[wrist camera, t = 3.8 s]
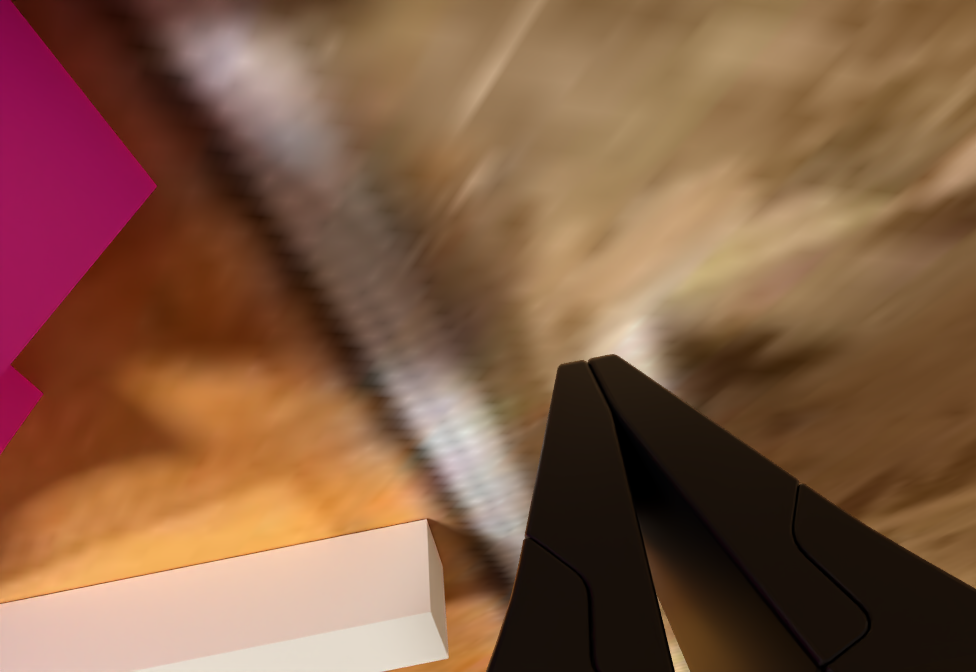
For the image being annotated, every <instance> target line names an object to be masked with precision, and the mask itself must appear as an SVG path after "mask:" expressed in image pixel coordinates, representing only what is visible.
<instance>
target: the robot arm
mask: <svg viewBox="0 0 976 672" xmlns="http://www.w3.org/2000/svg"><path fill="white" fill-rule="evenodd" d="M656 593H657V595H656ZM657 596H658V598H659V600H660V603H661V605H662V607H663V610H664V612H665V614H666V616H667V619H668V621H669V623H670V626H671V628H672V630H673V633H674V635H675V637H676V640H677V642H678V644H679V647H680V649H681V651H682V653H683V656H684V658H685V660H686V663H687V665H688V667H689V670H690V672H976V589H975V588H973V587H972V586H970V585H968V584H966V583H965V582H963V581H961V580H959V579H957V578H956V577H954V576H952V575H950V574H949V573H947V572H945V571H943V570H942V569H940V568H938V567H936V566H935V565H933V564H931V563H929V562H928V561H926V560H924V559H922V558H921V557H919V556H917V555H915V554H914V553H912V552H910V551H909V550H907V549H905V548H904V547H902V546H900V545H898V544H897V543H895V542H893V541H892V540H890V539H888V538H887V537H885V536H883V535H882V534H880V533H878V532H877V531H875V530H873V529H872V528H870V527H868V526H867V525H865V524H864V523H862V522H861V521H859V520H858V519H856V518H854V517H853V516H851V515H850V514H848V513H847V512H845V511H844V510H842V509H841V508H839V507H838V506H836V505H835V504H833V503H832V502H830V501H829V500H827V499H826V498H824V497H823V496H821V495H820V494H818V493H817V492H815V491H814V490H813V489H811V488H810V487H808V486H807V485H805V484H800V485H799V481H798V480H797V479H796V478H795V477H793V476H792V475H790V474H789V473H787V472H786V471H785V470H783V469H782V468H780V467H779V466H777V465H776V464H774V463H773V462H772V461H770V460H769V459H767V458H766V457H764V456H763V455H761V454H760V453H758V452H757V451H756V450H754V449H753V448H751V447H750V446H748V445H747V444H745V443H744V442H742V441H741V440H740V439H738V438H737V437H735V436H734V435H732V434H731V433H729V432H728V431H727V430H725V429H724V428H722V427H721V426H719V425H718V424H716V423H715V422H713V421H712V420H711V419H709V418H708V417H706V416H705V415H703V414H702V413H700V412H699V411H697V410H696V409H695V408H693V407H692V406H690V405H689V404H687V403H686V402H684V401H683V400H682V399H680V398H679V397H677V396H676V395H674V394H673V393H671V392H670V391H668V390H667V389H666V388H664V387H663V386H661V385H660V384H658V383H657V382H655V381H654V380H653V379H651V378H650V377H648V376H647V375H645V374H644V373H642V372H641V371H639V370H638V369H637V368H635V367H634V366H632V365H631V364H629V363H628V362H626V361H625V360H623V359H622V358H621V357H619V356H617V355H615V354H610V355H605V356H600V357H595V358H591V359H589V360H588V363H587V362H586V361H584V360H580V361H574V362H569V363H564V364H561V365H560V366H559V367H558V370H557V375H556V380H555V385H554V390H553V395H552V400H551V405H550V410H549V415H548V420H547V425H546V430H545V435H544V440H543V445H542V450H541V456H540V461H539V466H538V471H537V476H536V481H535V486H534V491H533V496H532V501H531V506H530V511H529V516H528V521H527V526H526V531H525V539H524V540H523V545H522V550H521V555H520V560H519V564H518V569H517V573H516V577H515V581H514V585H513V590H512V594H511V598H510V601H509V605H508V608H507V611H506V614H505V617H504V620H503V624H502V627H501V630H500V633H499V636H498V639H497V642H496V645H495V648H494V651H493V653H492V656H491V659H490V662H489V665H488V667H487V670H486V672H675V670H674V666H673V662H672V658H671V654H670V649H669V645H668V641H667V637H666V633H665V629H664V624H663V620H662V616H661V612H660V608H659V603H658V599H657Z"/></svg>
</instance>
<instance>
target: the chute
mask: <svg viewBox="0 0 976 672" xmlns="http://www.w3.org/2000/svg"><path fill="white" fill-rule="evenodd" d="M448 658H449V655H448V640H447V624H446V608H445V593H444V577H443V565H442V562H441V560H440V557H439V554H438V551H437V548H436V545H435V542H434V539H433V536H432V533H431V530H430V527H429V524H428V522H427V519H425V520H420V521H415V522H410V523H405V524H400V525H395V526H390V527H385V528H380V529H375V530H370V531H365V532H360V533H354V534H349V535H344V536H339V537H334V538H329V539H324V540H319V541H314V542H309V543H304V544H299V545H294V546H289V547H284V548H279V549H274V550H269V551H264V552H259V553H254V554H249V555H244V556H239V557H234V558H229V559H224V560H219V561H214V562H209V563H204V564H199V565H194V566H189V567H184V568H179V569H174V570H169V571H164V572H159V573H154V574H149V575H144V576H139V577H134V578H129V579H124V580H119V581H114V582H109V583H104V584H99V585H94V586H89V587H84V588H79V589H74V590H68V591H63V592H58V593H53V594H48V595H43V596H38V597H33V598H28V599H23V600H18V601H13V602H8V603H3V604H0V672H383V671H388V670H393V669H398V668H403V667H408V666H413V665H418V664H423V663H428V662H433V661H438V660H443V659H448Z"/></svg>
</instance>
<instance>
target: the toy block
mask: <svg viewBox="0 0 976 672" xmlns="http://www.w3.org/2000/svg"><path fill="white" fill-rule="evenodd" d="M156 187H157V185H156V184H155V183H154V181H153V180H152V179H151V178H150V176H149V175H148V174H147V173H146V171H145V170H144V169H143V168H142V166H141V165H140V164H139V162H138V161H137V160H136V159H135V157H134V156H133V155H132V154H131V152H130V151H129V150H128V149H127V147H126V146H125V145H124V143H123V142H122V141H121V140H120V138H119V137H118V136H117V135H116V133H115V132H114V131H113V130H112V128H111V127H110V126H109V124H108V123H107V122H106V121H105V119H104V118H103V117H102V116H101V114H100V113H99V112H98V110H97V109H96V108H95V107H94V105H93V104H92V103H91V102H90V100H89V99H88V98H87V97H86V95H85V94H84V93H83V91H82V90H81V89H80V88H79V86H78V85H77V84H76V83H75V81H74V80H73V79H72V78H71V76H70V75H69V74H68V72H67V71H66V70H65V69H64V67H63V66H62V65H61V64H60V62H59V61H58V60H57V59H56V57H55V56H54V55H53V53H52V52H51V51H50V50H49V48H48V47H47V46H46V45H45V43H44V42H43V41H42V40H41V38H40V37H39V36H38V34H37V33H36V32H35V31H34V29H33V28H32V27H31V26H30V24H29V23H28V22H27V21H26V19H25V18H24V17H23V15H22V14H21V13H20V12H19V10H18V9H17V8H16V7H15V5H14V4H13V3H12V2H11V0H0V454H1V453H2V452H3V450H4V449H5V447H6V446H7V445H8V443H9V442H10V440H11V439H12V438H13V436H14V435H15V433H16V432H17V431H18V429H19V428H20V426H21V425H22V423H23V422H24V421H25V419H26V418H27V416H28V415H29V414H30V412H31V411H32V409H33V408H34V407H35V405H36V404H37V402H38V401H39V400H40V398H41V397H42V395H43V393H42V392H41V391H40V390H39V389H37V388H36V387H35V386H34V385H33V384H32V383H31V382H29V381H28V380H27V379H26V378H25V377H24V376H22V375H21V374H20V373H19V372H18V371H17V370H16V369H14V368H13V367H12V366H11V365H10V364H11V363H12V362H13V361H14V359H15V358H16V357H17V356H18V355H19V353H20V352H21V351H22V350H23V349H24V347H25V346H26V345H27V344H28V342H29V341H30V340H31V339H32V338H33V336H34V335H35V334H36V333H37V332H38V330H39V329H40V328H41V327H42V326H43V324H44V323H45V322H46V321H47V319H48V318H49V317H50V316H51V315H52V313H53V312H54V311H55V310H56V309H57V307H58V306H59V305H60V304H61V302H62V301H63V300H64V299H65V298H66V296H67V295H68V294H69V293H70V292H71V290H72V289H73V288H74V287H75V285H76V284H77V283H78V282H79V281H80V279H81V278H82V277H83V276H84V275H85V273H86V272H87V271H88V270H89V268H90V267H91V266H92V265H93V264H94V262H95V261H96V260H97V259H98V258H99V256H100V255H101V254H102V253H103V251H104V250H105V249H106V248H107V247H108V245H109V244H110V243H111V242H112V241H113V239H114V238H115V237H116V236H117V234H118V233H119V232H120V231H121V230H122V228H123V227H124V226H125V225H126V224H127V222H128V221H129V220H130V219H131V217H132V216H133V215H134V214H135V213H136V211H137V210H138V209H139V208H140V207H141V205H142V204H143V203H144V202H145V200H146V199H147V198H148V197H149V196H150V194H151V193H152V192H153V191H154V190H155V188H156Z"/></svg>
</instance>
